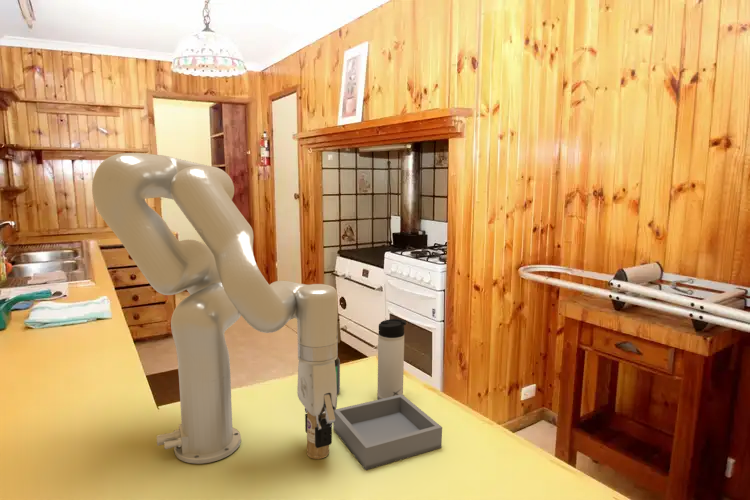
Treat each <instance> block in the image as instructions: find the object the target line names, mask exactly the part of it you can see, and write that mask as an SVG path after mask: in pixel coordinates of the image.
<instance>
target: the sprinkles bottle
mask: <svg viewBox="0 0 750 500" xmlns="http://www.w3.org/2000/svg"><path fill="white" fill-rule="evenodd" d="M322 410H325V409H324V408H322ZM322 410H321V411H322ZM306 414H307V433H306V439H307V444H306V446H307V447H306V448H307V449H306V455H307V457H308V458H311V459H313V460H320V459H324V458H325V457H327V456H328V455H330V445H327V446H323V447H320V448H316V446H315V427H317V423H316V416H312V415H311V414H310V413H309V412H308V411H307V413H306ZM320 416H321V420H322V419H324V418H325V417H326V414H325V415H320Z"/></svg>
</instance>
